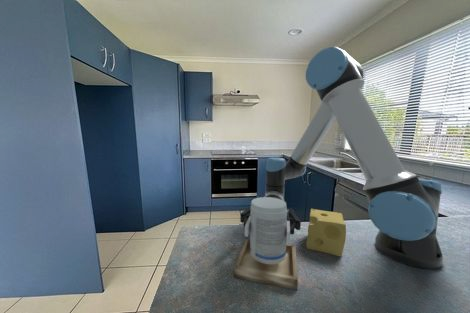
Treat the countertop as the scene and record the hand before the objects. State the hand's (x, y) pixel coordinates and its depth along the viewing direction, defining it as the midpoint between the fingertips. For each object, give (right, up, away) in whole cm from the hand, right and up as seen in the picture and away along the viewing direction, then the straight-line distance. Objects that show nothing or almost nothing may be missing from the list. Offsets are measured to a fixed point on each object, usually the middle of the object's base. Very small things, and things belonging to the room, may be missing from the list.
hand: (266, 234), depth 47 cm
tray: (+1, -10, +5) cm, 11 cm away
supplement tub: (+1, -8, +5) cm, 9 cm away
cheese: (+21, -10, +15) cm, 28 cm away
